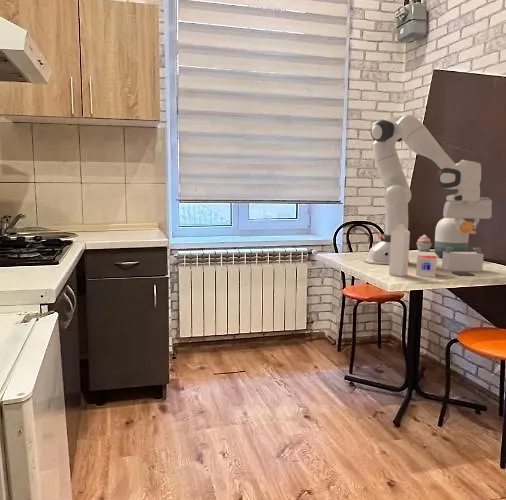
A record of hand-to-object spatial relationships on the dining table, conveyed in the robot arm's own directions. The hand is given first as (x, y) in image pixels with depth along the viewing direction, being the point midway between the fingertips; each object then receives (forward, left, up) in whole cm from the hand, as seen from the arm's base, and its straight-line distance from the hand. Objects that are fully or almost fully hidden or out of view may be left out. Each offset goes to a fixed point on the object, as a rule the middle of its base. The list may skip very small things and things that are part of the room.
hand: (466, 228), depth 217 cm
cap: (0, 0, -2) cm, 2 cm away
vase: (+17, +52, -20) cm, 58 cm away
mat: (0, 0, -20) cm, 20 cm away
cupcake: (+13, +80, -20) cm, 83 cm away
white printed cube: (-17, -1, -21) cm, 27 cm away
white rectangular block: (+5, +12, -20) cm, 24 cm away
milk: (-30, -3, -20) cm, 36 cm away
